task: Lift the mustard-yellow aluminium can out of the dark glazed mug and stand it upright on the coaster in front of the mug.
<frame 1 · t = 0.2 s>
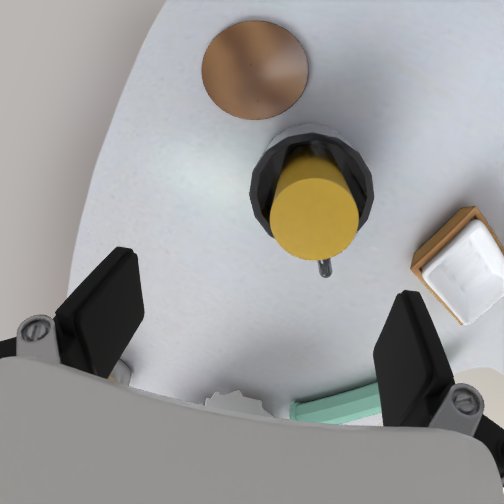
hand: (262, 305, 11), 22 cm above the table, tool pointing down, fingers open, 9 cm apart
spiral staircase: (225, 413, 53), on the table
cupcake: (117, 365, 51), on the table
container: (370, 386, 44), on the table
mug: (310, 171, 30), on the table
coaster: (254, 69, 26), on the table
soap dish: (458, 255, 32), on the table
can: (310, 173, 30), point 1 cm above the table, touching mug
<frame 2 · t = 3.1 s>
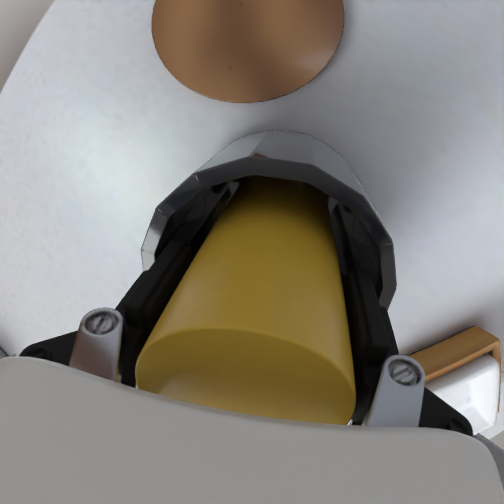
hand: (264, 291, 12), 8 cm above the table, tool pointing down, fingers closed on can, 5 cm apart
mug: (279, 214, 18), on the table
coaster: (245, 15, 13), on the table
soap dish: (439, 374, 23), on the table
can: (278, 218, 18), point 1 cm above the table, touching gripper, mug
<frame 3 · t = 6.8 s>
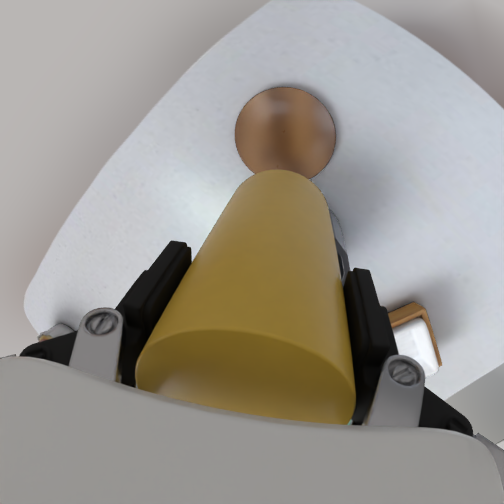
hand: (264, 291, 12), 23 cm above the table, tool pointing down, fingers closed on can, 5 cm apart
cupcake: (69, 335, 52), on the table
mug: (298, 237, 35), on the table
coaster: (285, 135, 30), on the table
soap dish: (396, 335, 40), on the table
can: (278, 218, 18), point 16 cm above the table, touching gripper
when the fingers open (8 cm above the table, at t = 10.8 s): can stays where it is, resting on coaster.
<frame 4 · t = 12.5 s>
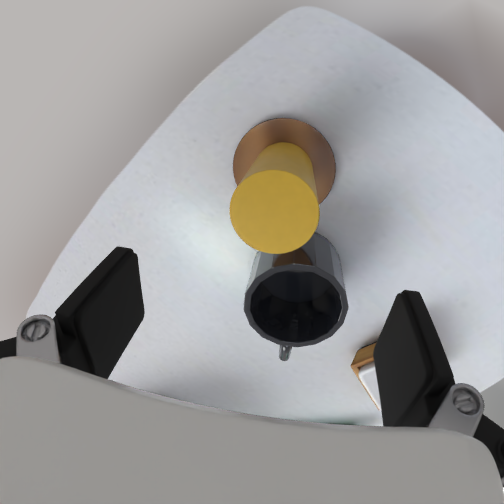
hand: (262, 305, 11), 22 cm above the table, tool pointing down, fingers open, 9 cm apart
mug: (297, 268, 36), on the table
coaster: (284, 167, 31), on the table
soap dish: (394, 358, 40), on the table
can: (283, 170, 30), point 1 cm above the table, touching coaster
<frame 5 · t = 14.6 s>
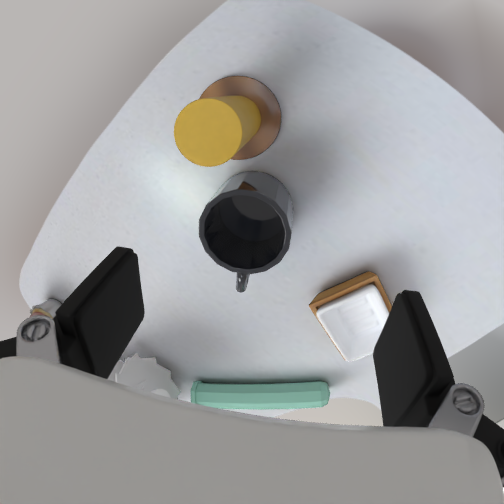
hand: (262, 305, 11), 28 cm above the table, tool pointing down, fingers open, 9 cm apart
spiral staircase: (139, 374, 61), on the table
cupcake: (59, 310, 56), on the table
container: (262, 385, 56), on the table
mug: (253, 208, 40), on the table
coaster: (237, 117, 34), on the table
soap dish: (357, 305, 45), on the table
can: (236, 119, 34), point 1 cm above the table, touching coaster
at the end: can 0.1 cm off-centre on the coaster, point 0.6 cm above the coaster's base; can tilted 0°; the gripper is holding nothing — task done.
